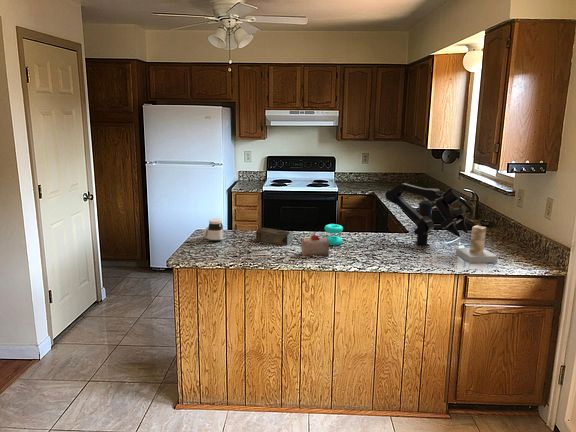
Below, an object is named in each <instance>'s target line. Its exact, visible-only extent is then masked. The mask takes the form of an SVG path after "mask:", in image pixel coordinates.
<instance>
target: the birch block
mask: <svg viewBox="0 0 576 432" xmlns="http://www.w3.org/2000/svg"><path fill="white" fill-rule="evenodd" d="M486 233H487V227H486V226H482V225H478V224H477V225H474V226H472V228H471V233H470V234H471V236H470V242H469V243H470V245H469V248H470V251H469V252H471V253H476V254H481V253H483V251H484V249H485V243H486V242H485V241H486Z"/></svg>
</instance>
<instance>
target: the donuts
mask: <svg viewBox="0 0 576 432" xmlns="http://www.w3.org/2000/svg"><path fill="white" fill-rule="evenodd" d="M343 230H344V227H343V226H342V225H340V224H336V223H329V224H326V225H325V226H324V231H325V232H326V233H328V234H340V233H342V232H343ZM325 238H327V239H328V241H329V246H339V245H341V244H342V243H343V238H341V237H340V236H338V235H327V236H325Z"/></svg>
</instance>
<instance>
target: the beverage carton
mask: <svg viewBox="0 0 576 432" xmlns="http://www.w3.org/2000/svg"><path fill="white" fill-rule="evenodd" d="M255 239H256V240H255V241H256V242H262V243H269V244H274V245H275V244H276V245H283V246H289V244H291V243H292V242H293V231H290V230H289V231H288V230H282V229H275V228H268V227H261V228H259V229H257V230H256V231H255Z"/></svg>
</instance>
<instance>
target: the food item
mask: <svg viewBox="0 0 576 432" xmlns="http://www.w3.org/2000/svg"><path fill="white" fill-rule="evenodd" d="M300 243H301V244H300V247H301V253H302V254H303V256H304V257H312V256H313V255H314V256H315V257H316V255H318V256H329V255H330V253H329V252H330V250H329V249H330V248H329V246H330V245H329V241H328V239H327V238H326V237H319V236H318V235H316V234H313V235H311V237H308V238H307V237H306V238H303V240H301V241H300Z"/></svg>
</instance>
